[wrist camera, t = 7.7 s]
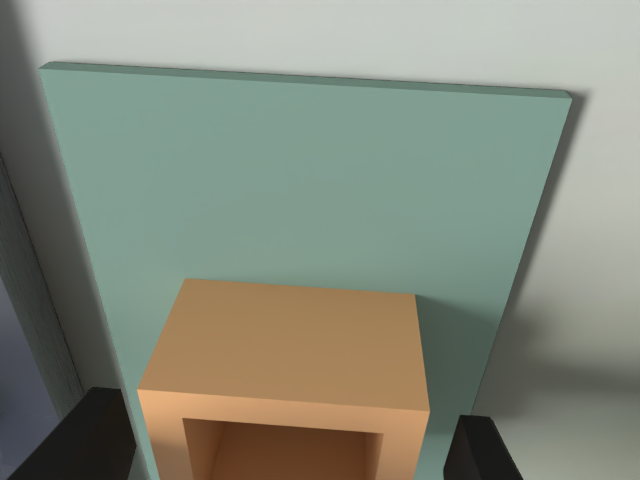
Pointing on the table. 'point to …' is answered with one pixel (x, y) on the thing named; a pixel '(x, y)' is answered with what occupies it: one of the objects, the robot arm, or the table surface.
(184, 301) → the collar
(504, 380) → the table surface
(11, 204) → the vise
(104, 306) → the mat
